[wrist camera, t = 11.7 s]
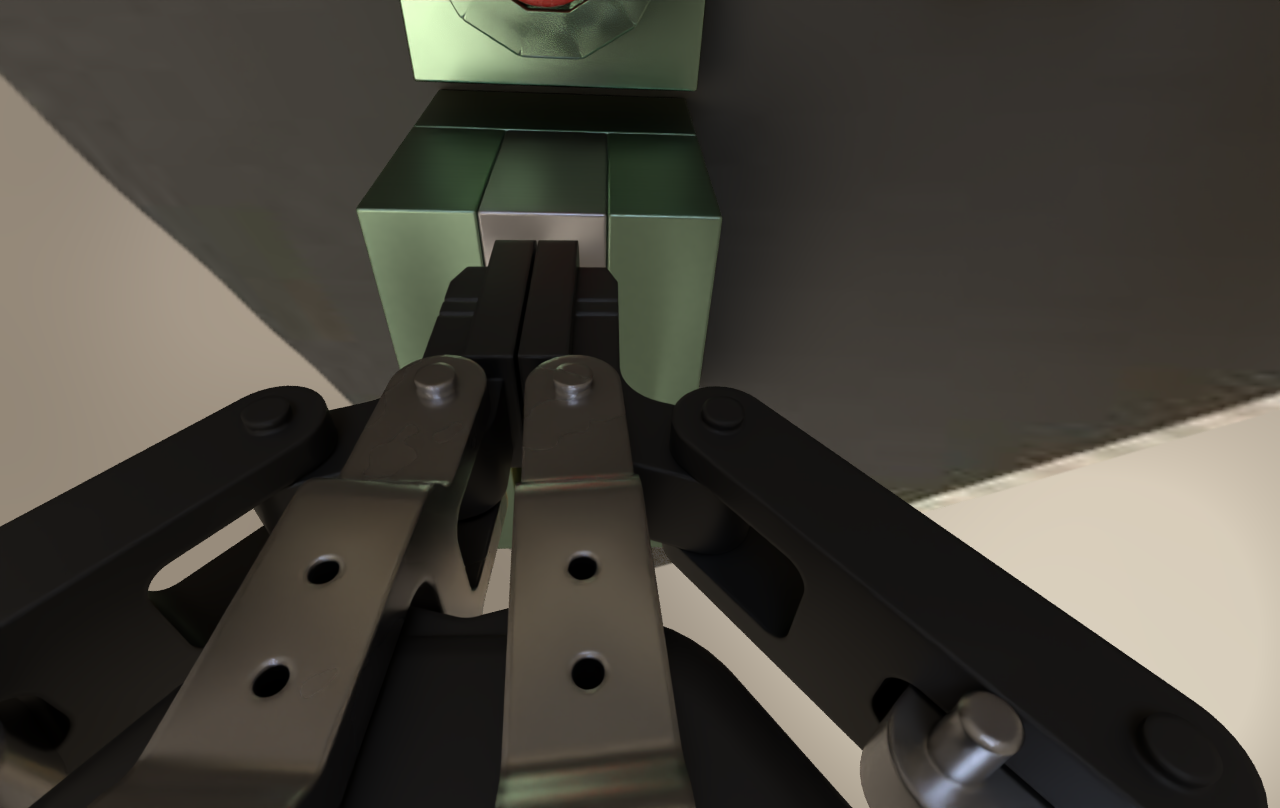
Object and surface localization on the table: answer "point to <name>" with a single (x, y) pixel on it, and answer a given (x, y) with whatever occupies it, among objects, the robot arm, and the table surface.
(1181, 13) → the table surface
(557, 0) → the button
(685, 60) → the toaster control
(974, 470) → the table surface
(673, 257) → the toaster
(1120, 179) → the table surface
